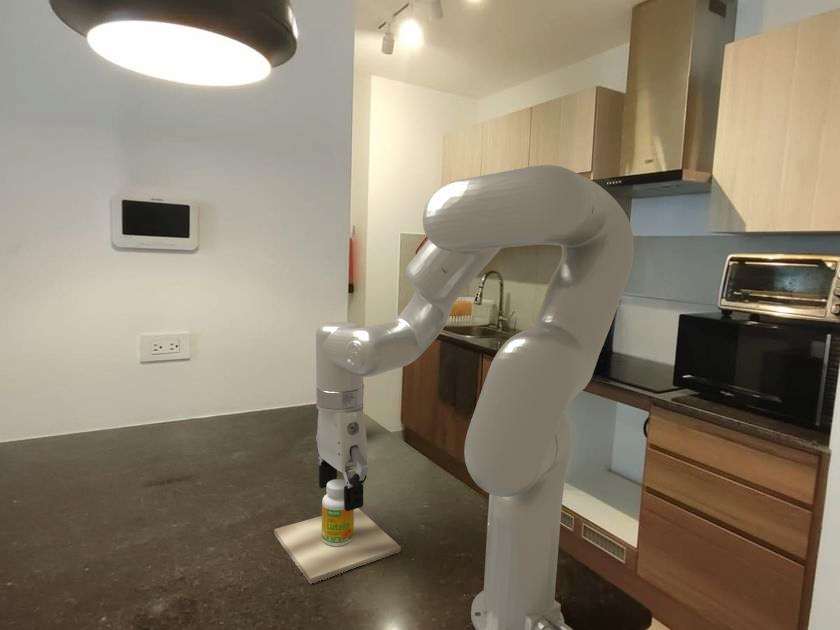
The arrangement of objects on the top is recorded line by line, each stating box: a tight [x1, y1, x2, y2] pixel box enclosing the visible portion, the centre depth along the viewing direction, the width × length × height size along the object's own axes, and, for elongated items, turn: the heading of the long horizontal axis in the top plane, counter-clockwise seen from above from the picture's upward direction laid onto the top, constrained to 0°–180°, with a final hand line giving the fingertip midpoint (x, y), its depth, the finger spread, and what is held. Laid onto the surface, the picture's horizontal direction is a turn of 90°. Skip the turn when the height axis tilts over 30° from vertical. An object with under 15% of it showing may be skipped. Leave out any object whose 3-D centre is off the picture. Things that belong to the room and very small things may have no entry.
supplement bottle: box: [321, 478, 354, 546], centre depth 88 cm, size 5×5×10 cm
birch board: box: [273, 508, 402, 585], centre depth 88 cm, size 16×16×1 cm
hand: (340, 496), depth 87 cm, fingers open, 9 cm apart
